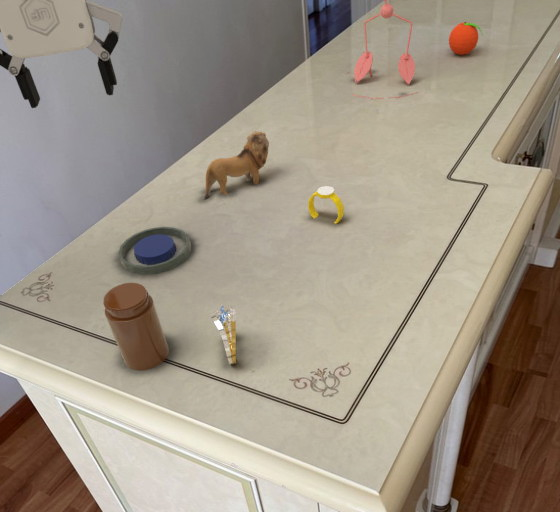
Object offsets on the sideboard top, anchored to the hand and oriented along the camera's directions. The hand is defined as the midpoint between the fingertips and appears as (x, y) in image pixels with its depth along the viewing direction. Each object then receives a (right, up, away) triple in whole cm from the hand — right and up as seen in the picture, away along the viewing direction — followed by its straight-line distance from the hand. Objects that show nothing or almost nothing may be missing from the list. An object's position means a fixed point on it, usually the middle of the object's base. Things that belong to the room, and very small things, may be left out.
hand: (73, 97), depth 76 cm
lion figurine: (+19, -1, +33) cm, 39 cm away
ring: (+21, -34, +1) cm, 39 cm away
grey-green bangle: (+7, -17, +20) cm, 27 cm away
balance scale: (+50, +31, +61) cm, 84 cm away
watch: (+34, -11, +22) cm, 42 cm away
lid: (+7, -15, +18) cm, 25 cm away
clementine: (+72, +43, +70) cm, 110 cm away
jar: (+9, -34, +3) cm, 35 cm away
